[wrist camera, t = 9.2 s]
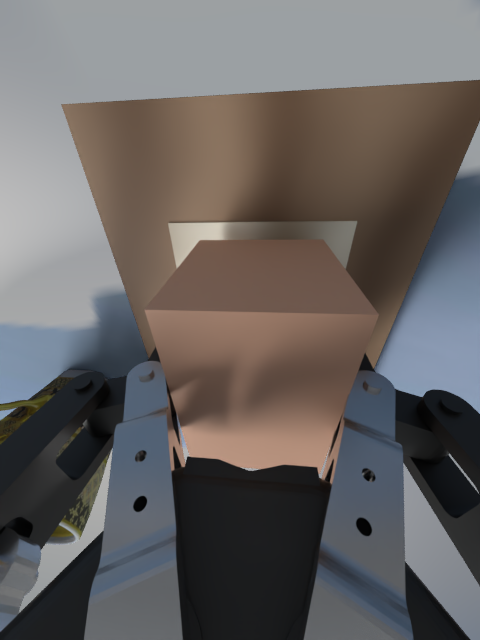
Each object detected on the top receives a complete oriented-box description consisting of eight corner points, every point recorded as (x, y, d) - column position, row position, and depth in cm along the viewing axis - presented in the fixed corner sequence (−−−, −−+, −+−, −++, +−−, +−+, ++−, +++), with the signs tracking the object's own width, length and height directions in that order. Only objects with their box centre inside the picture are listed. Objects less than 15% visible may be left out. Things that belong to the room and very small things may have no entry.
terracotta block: (323, 239, 10) (379, 314, 5) (301, 368, 15) (319, 473, 10) (199, 240, 11) (144, 309, 6) (215, 364, 15) (192, 463, 10)
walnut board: (466, 89, 9) (500, 77, 8) (352, 388, 19) (359, 405, 18) (85, 110, 11) (59, 103, 9) (167, 379, 21) (160, 394, 19)
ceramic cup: (154, 424, 25) (101, 551, 17) (68, 418, 26) (-22, 536, 18) (115, 329, 18) (-10, 473, 10) (-2, 324, 19) (-209, 453, 11)
